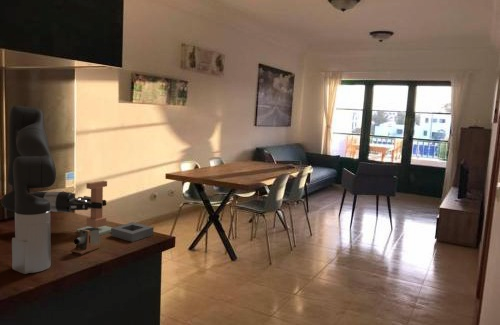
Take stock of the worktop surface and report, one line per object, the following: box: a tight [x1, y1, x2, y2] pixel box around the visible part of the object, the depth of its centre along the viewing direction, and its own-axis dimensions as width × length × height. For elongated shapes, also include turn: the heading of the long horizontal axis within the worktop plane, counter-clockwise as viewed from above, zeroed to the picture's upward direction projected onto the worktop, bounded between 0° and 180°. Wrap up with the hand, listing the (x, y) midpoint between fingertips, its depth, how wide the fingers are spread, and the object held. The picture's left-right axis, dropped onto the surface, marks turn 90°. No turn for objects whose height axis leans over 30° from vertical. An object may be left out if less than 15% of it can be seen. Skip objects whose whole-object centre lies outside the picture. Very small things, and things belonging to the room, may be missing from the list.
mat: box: [76, 225, 113, 237], centre depth 160 cm, size 10×10×1 cm
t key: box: [86, 180, 108, 228], centre depth 158 cm, size 8×5×17 cm, turn 151°
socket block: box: [110, 221, 154, 243], centre depth 157 cm, size 11×11×3 cm
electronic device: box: [69, 228, 101, 257], centre depth 138 cm, size 4×10×8 cm, turn 162°
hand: (103, 204), depth 158 cm, fingers closed on t key, 4 cm apart
